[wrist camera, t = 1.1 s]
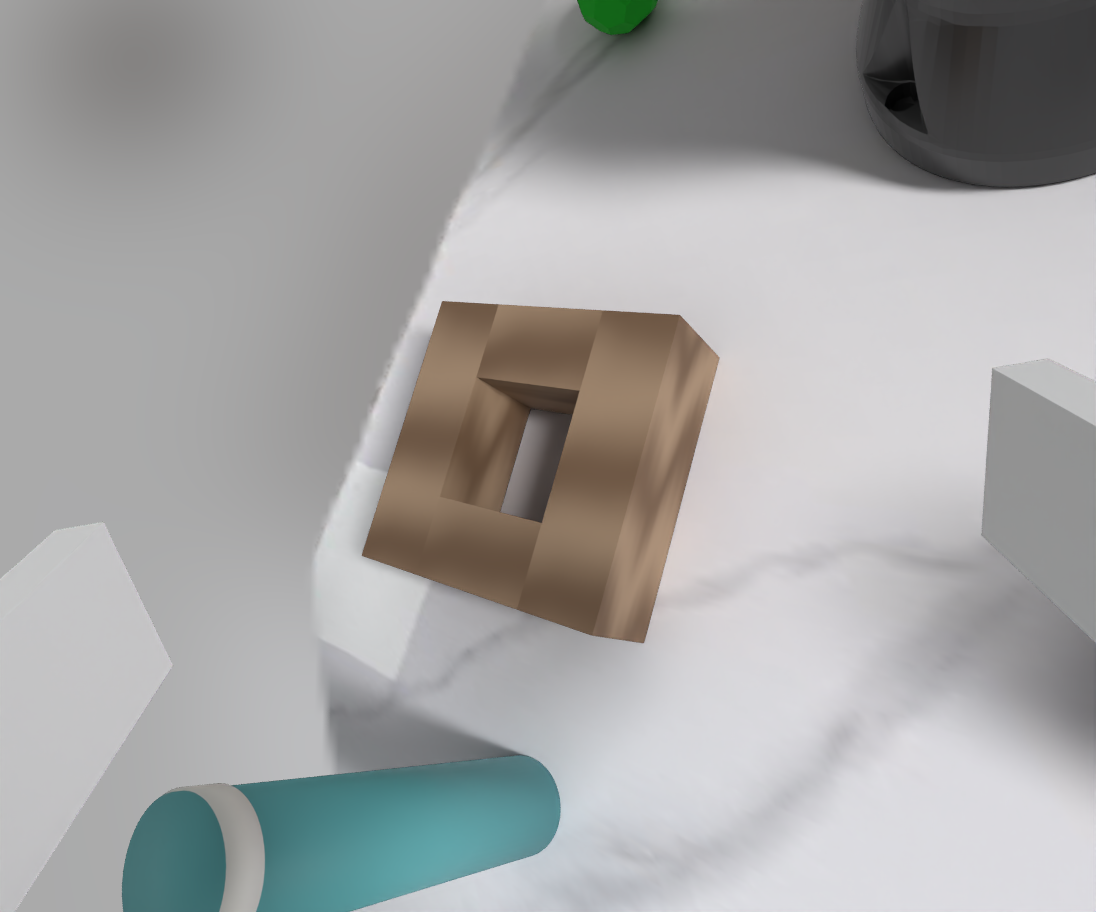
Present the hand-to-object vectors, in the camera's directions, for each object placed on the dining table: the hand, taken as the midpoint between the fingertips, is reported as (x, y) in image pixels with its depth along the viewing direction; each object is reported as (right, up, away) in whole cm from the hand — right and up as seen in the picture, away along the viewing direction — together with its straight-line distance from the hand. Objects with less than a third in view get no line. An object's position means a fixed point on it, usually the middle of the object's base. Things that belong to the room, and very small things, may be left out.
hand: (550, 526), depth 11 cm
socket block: (+1, 0, +28) cm, 28 cm away
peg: (-1, -15, +25) cm, 29 cm away
